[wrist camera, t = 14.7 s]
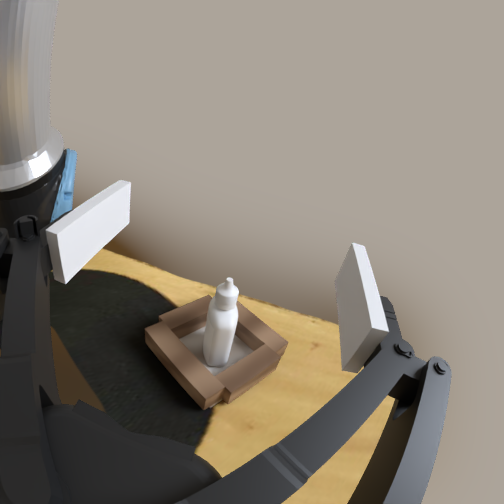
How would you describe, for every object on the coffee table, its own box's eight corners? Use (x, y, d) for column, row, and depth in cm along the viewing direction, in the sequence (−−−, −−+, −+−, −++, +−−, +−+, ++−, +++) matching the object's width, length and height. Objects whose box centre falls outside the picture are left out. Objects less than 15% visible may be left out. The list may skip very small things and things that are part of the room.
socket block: (141, 340, 36) (140, 323, 35) (219, 304, 46) (222, 288, 44) (209, 418, 29) (212, 405, 27) (287, 361, 38) (294, 346, 37)
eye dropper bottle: (190, 358, 35) (198, 285, 29) (210, 331, 40) (222, 260, 34) (221, 373, 34) (238, 302, 28) (238, 344, 39) (258, 274, 33)
